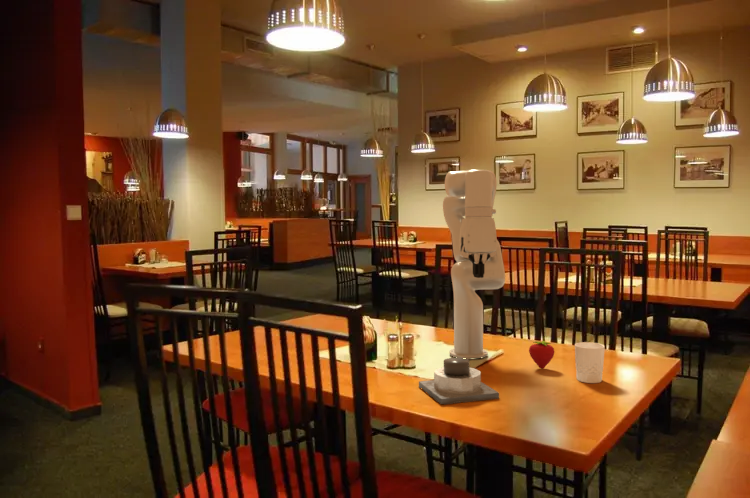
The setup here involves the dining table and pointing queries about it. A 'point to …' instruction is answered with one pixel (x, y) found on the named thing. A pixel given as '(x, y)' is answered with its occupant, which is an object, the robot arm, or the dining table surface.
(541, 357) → the strawberry
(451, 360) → the cap
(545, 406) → the dining table surface
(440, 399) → the square base disc pedestal
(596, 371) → the white cup
